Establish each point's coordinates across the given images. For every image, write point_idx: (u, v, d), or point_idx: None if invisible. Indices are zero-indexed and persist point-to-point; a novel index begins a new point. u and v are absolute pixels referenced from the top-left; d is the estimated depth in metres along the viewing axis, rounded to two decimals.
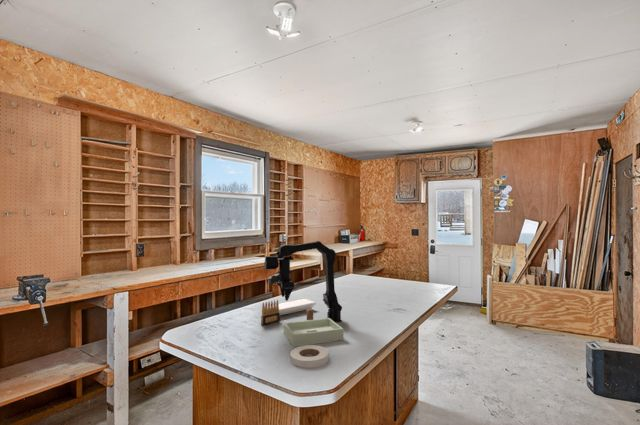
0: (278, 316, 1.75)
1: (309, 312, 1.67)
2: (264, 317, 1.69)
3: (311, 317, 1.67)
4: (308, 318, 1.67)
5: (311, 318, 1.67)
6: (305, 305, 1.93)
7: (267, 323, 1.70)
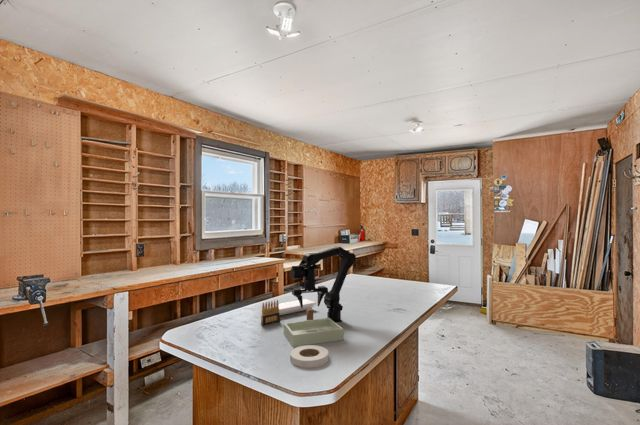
0: (278, 316, 1.75)
1: (309, 312, 1.67)
2: (264, 317, 1.69)
3: (311, 317, 1.67)
4: (308, 318, 1.67)
5: (311, 318, 1.67)
6: (305, 305, 1.93)
7: (267, 323, 1.70)
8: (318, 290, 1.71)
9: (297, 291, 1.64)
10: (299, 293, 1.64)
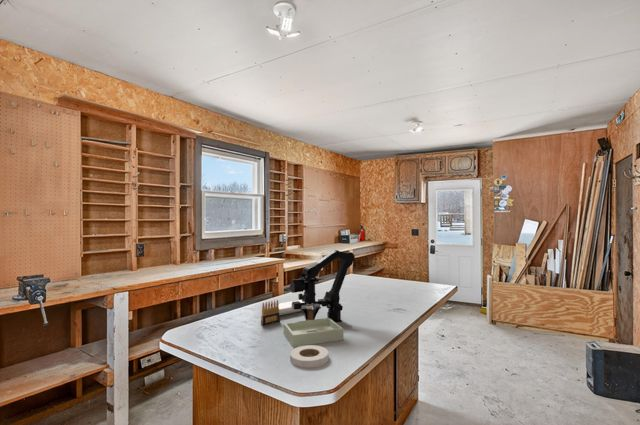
0: (278, 316, 1.75)
1: (309, 312, 1.67)
2: (264, 317, 1.69)
3: (311, 317, 1.67)
4: (308, 318, 1.67)
5: (311, 318, 1.67)
6: None
7: (267, 323, 1.70)
8: (318, 303, 1.70)
9: (297, 304, 1.64)
10: (299, 306, 1.64)
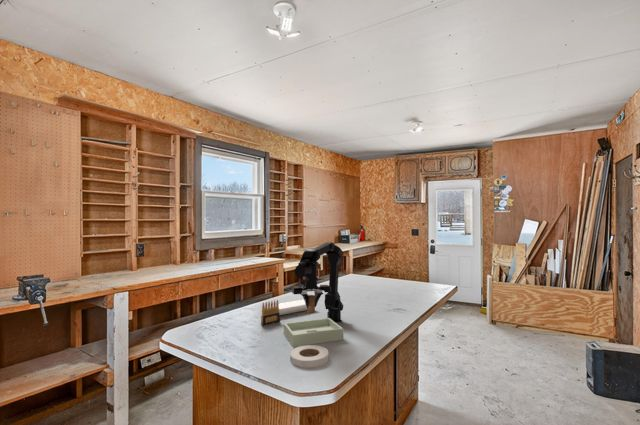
0: (278, 316, 1.75)
1: (310, 298, 1.54)
2: (264, 317, 1.69)
3: (312, 303, 1.54)
4: (309, 304, 1.54)
5: (312, 304, 1.54)
6: (305, 305, 1.92)
7: (267, 323, 1.70)
8: (320, 289, 1.57)
9: (297, 289, 1.51)
10: (299, 291, 1.51)
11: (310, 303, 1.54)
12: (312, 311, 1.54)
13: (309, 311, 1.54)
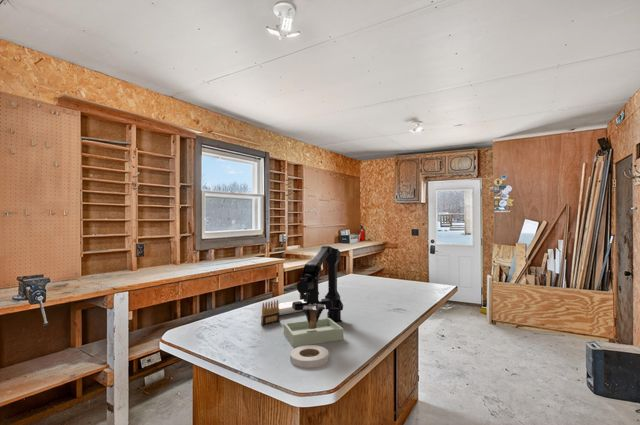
0: (278, 316, 1.75)
1: (312, 313, 1.51)
2: (264, 317, 1.69)
3: (314, 319, 1.51)
4: (311, 320, 1.51)
5: (314, 320, 1.51)
6: None
7: (267, 323, 1.70)
8: (322, 303, 1.54)
9: (298, 305, 1.47)
10: (301, 307, 1.47)
11: (312, 318, 1.51)
12: (314, 326, 1.51)
13: (311, 326, 1.51)
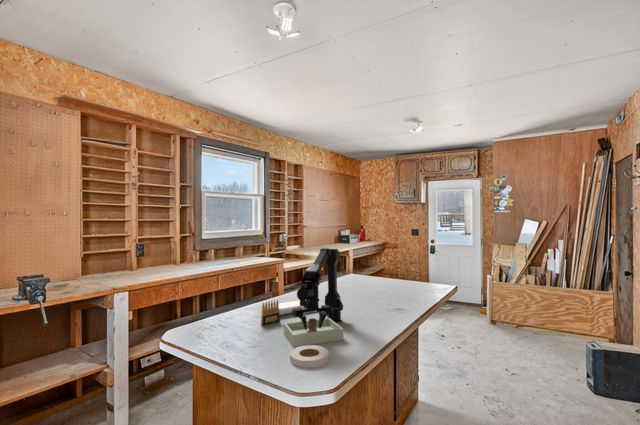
0: (278, 316, 1.75)
1: (312, 322, 1.50)
2: (264, 317, 1.69)
3: (314, 328, 1.51)
4: (311, 329, 1.51)
5: (314, 329, 1.51)
6: None
7: (267, 323, 1.70)
8: (322, 310, 1.53)
9: (298, 312, 1.47)
10: (301, 314, 1.47)
11: (312, 327, 1.50)
12: None
13: None
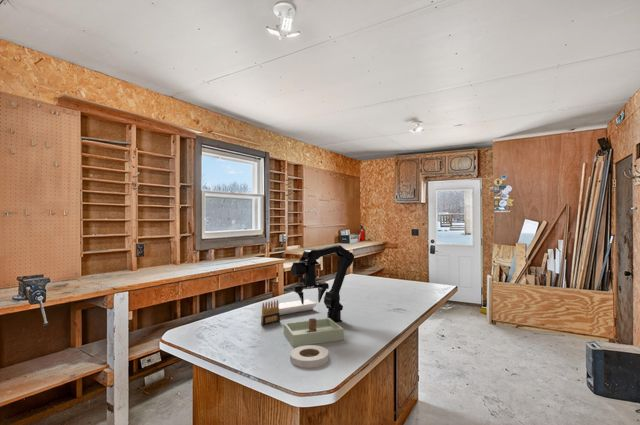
0: (278, 316, 1.75)
1: (312, 322, 1.50)
2: (264, 317, 1.69)
3: (314, 328, 1.51)
4: (311, 329, 1.51)
5: (314, 329, 1.51)
6: (305, 306, 1.91)
7: (267, 323, 1.70)
8: (319, 286, 1.69)
9: (298, 287, 1.63)
10: (300, 289, 1.63)
11: (312, 327, 1.50)
12: None
13: None
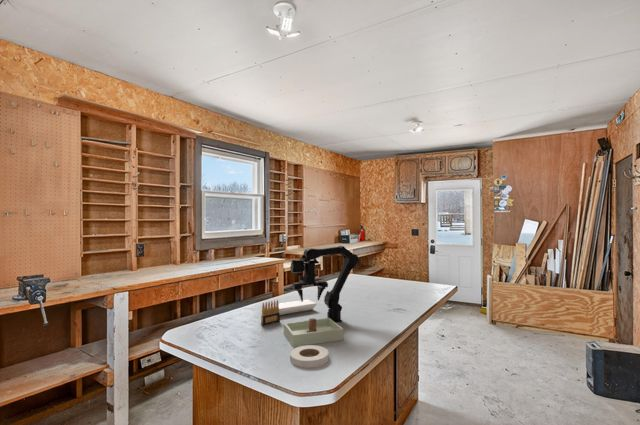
0: (278, 316, 1.75)
1: (312, 322, 1.50)
2: (264, 317, 1.69)
3: (314, 328, 1.51)
4: (311, 329, 1.51)
5: (314, 329, 1.51)
6: (305, 306, 1.91)
7: (267, 323, 1.70)
8: (318, 284, 1.73)
9: (297, 285, 1.67)
10: (299, 287, 1.67)
11: (312, 327, 1.50)
12: None
13: None
